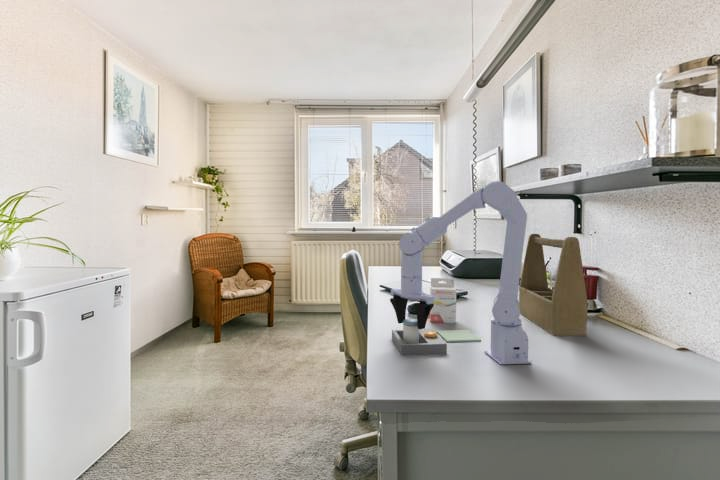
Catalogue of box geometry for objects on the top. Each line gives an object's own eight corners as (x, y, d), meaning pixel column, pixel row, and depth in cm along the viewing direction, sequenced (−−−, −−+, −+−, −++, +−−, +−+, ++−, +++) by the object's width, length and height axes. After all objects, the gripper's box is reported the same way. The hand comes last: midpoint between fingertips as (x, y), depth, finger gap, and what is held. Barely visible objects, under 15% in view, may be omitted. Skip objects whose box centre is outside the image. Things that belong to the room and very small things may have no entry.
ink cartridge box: (430, 322, 130) (431, 279, 130) (429, 319, 135) (429, 277, 135) (456, 323, 130) (456, 280, 129) (454, 319, 134) (454, 278, 134)
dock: (446, 353, 100) (446, 343, 100) (401, 354, 99) (401, 345, 99) (431, 337, 114) (431, 329, 114) (391, 338, 113) (391, 330, 112)
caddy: (588, 336, 115) (590, 236, 113) (551, 335, 115) (553, 236, 114) (546, 313, 144) (548, 233, 143) (517, 313, 145) (519, 233, 143)
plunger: (438, 345, 105) (438, 335, 105) (426, 345, 105) (426, 335, 104) (435, 341, 108) (435, 331, 108) (422, 341, 108) (422, 331, 108)
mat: (480, 341, 110) (480, 339, 110) (446, 342, 109) (446, 340, 109) (467, 331, 120) (467, 329, 120) (436, 332, 119) (436, 330, 119)
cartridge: (421, 348, 104) (421, 322, 104) (405, 348, 104) (405, 323, 103) (417, 343, 108) (417, 318, 108) (401, 343, 108) (401, 319, 108)
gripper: (441, 278, 102) (441, 328, 103) (403, 272, 113) (402, 318, 114) (423, 280, 98) (423, 333, 98) (385, 274, 109) (385, 321, 110)
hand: (411, 325), depth 106 cm, fingers open, 7 cm apart
